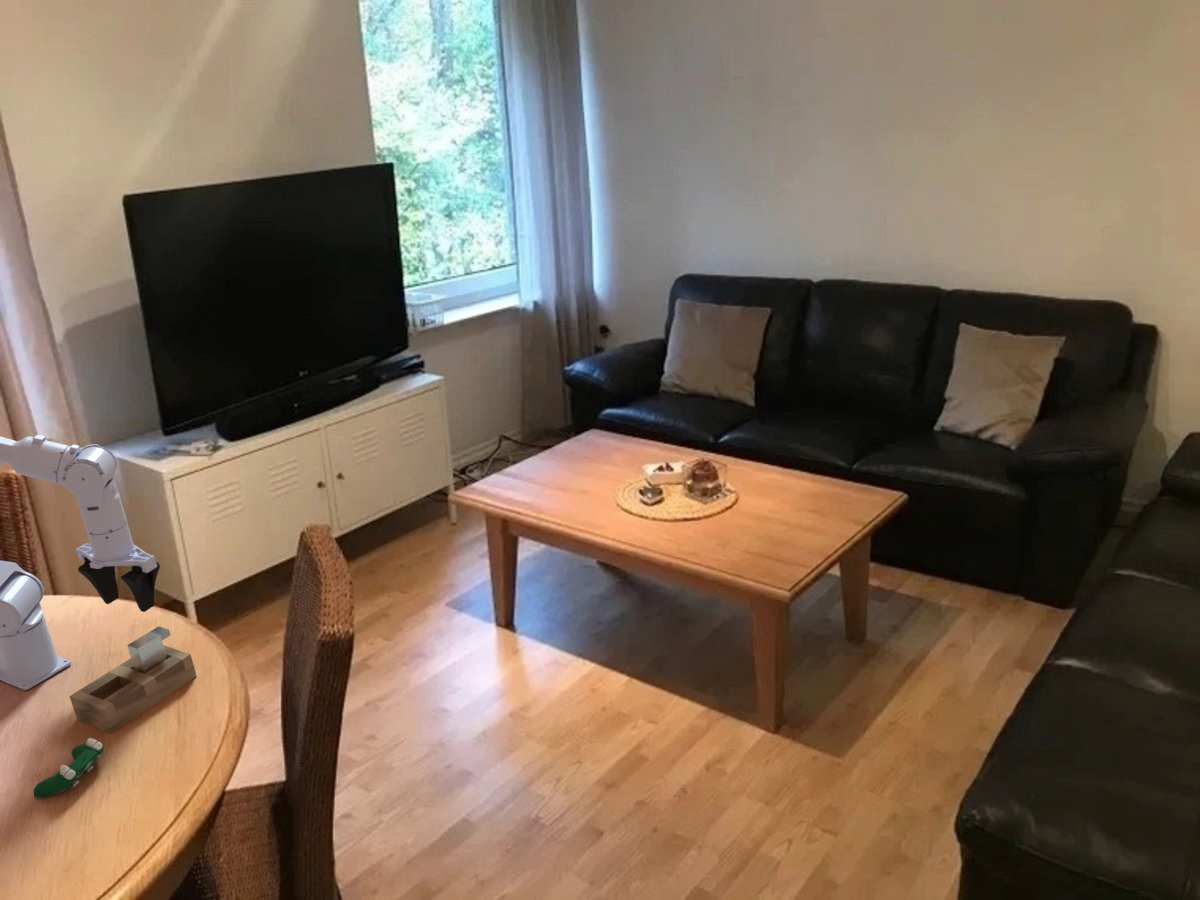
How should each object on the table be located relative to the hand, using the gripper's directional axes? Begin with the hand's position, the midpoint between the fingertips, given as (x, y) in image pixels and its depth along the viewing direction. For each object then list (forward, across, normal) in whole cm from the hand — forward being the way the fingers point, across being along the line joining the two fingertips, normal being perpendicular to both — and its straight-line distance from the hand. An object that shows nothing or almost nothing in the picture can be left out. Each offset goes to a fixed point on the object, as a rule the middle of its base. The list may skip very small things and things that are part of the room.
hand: (129, 604), depth 163 cm
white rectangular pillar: (+9, +8, -5) cm, 13 cm away
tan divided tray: (+10, +7, -8) cm, 15 cm away
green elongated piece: (+10, +13, -25) cm, 30 cm away
